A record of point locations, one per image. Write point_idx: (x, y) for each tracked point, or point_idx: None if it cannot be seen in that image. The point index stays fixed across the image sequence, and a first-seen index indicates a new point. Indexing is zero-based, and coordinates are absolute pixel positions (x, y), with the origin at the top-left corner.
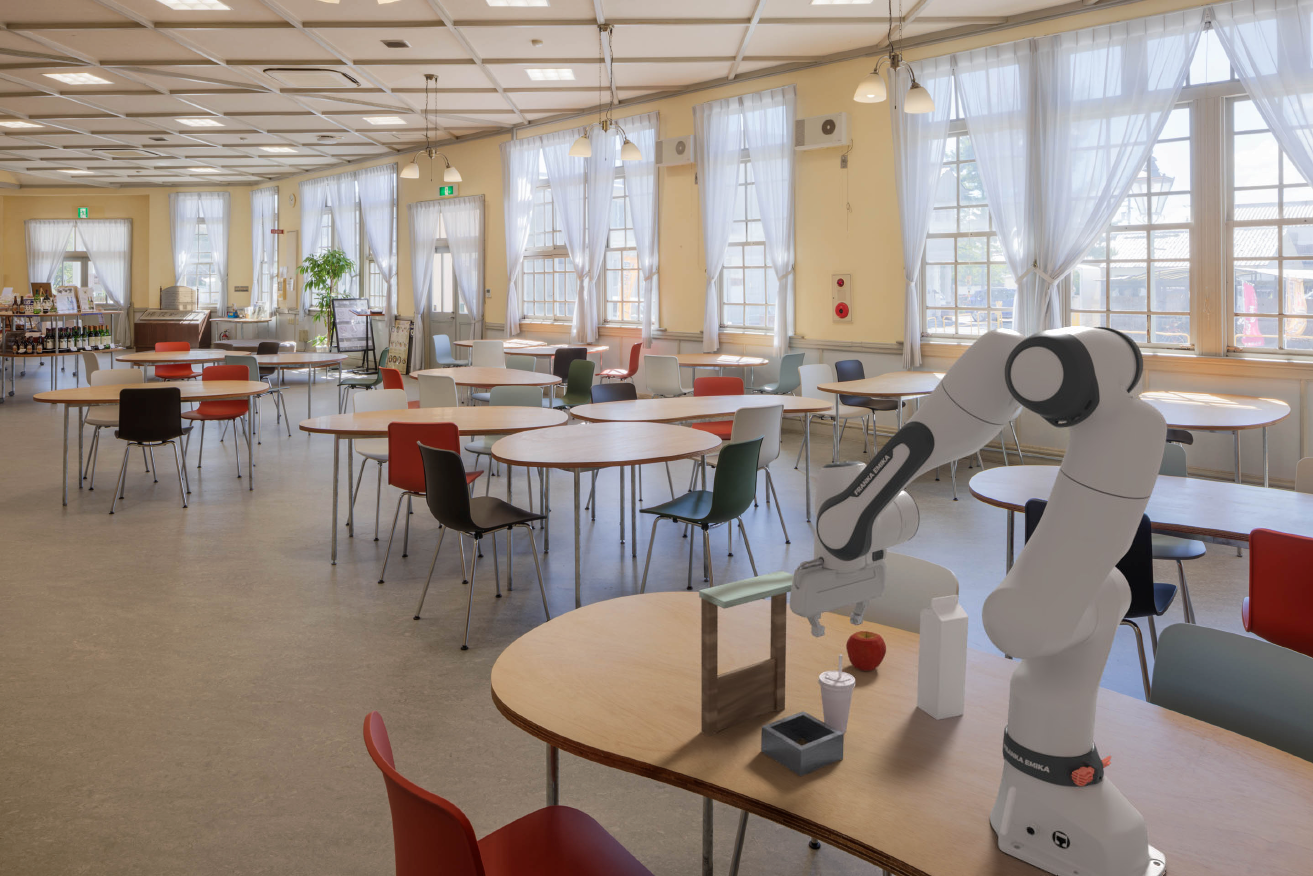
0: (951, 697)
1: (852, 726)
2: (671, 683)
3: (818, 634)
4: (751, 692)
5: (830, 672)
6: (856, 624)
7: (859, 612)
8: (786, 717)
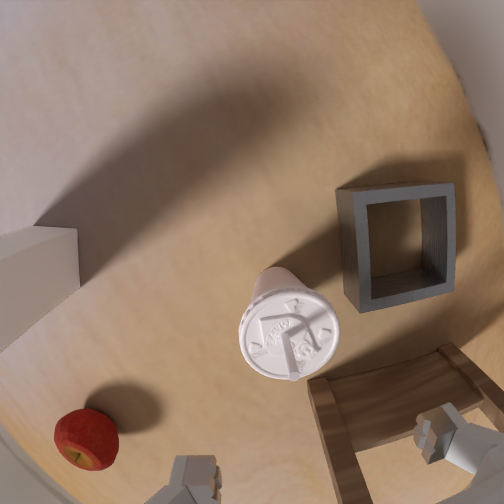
0: (31, 233)
1: (237, 282)
2: (384, 466)
3: (454, 407)
4: (392, 397)
5: (280, 372)
6: (213, 457)
7: (183, 501)
8: (403, 303)
